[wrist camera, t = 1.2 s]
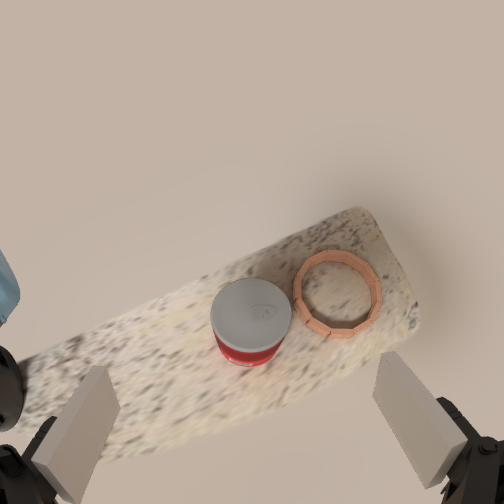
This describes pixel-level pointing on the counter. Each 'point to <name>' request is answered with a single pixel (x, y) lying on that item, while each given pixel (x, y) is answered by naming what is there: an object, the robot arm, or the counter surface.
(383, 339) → the counter surface
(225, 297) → the canned food
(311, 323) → the ring
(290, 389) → the counter surface
